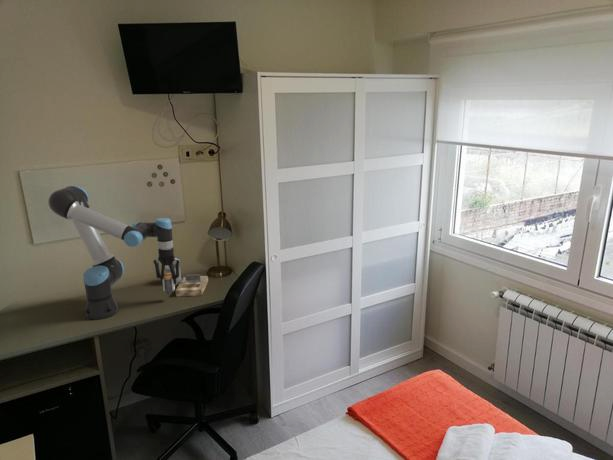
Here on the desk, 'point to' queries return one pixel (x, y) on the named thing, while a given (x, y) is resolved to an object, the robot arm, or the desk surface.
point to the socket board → (191, 288)
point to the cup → (175, 273)
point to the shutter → (193, 279)
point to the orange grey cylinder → (168, 283)
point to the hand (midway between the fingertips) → (169, 289)
